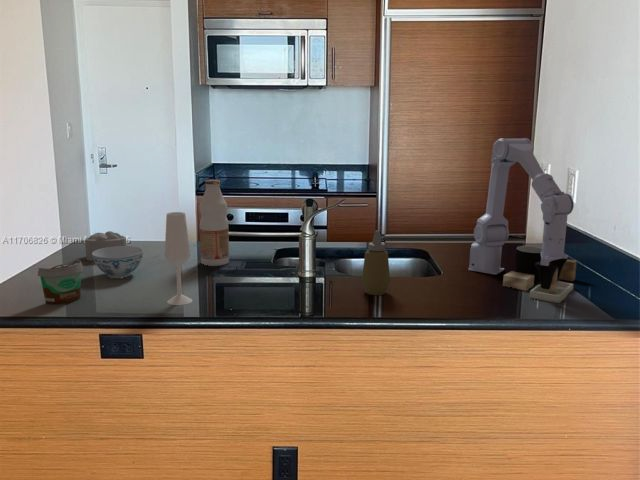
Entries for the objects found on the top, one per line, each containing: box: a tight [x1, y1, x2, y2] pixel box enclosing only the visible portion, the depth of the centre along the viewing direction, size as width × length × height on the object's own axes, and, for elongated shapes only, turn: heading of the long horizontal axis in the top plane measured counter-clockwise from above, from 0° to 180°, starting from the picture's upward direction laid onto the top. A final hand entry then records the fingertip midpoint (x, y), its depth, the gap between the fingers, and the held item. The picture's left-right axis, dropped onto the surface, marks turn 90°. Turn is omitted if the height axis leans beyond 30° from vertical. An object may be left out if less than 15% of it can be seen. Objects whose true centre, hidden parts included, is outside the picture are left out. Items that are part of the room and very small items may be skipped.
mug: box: [515, 245, 542, 285], centre depth 180 cm, size 12×9×10 cm
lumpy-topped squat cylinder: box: [84, 230, 127, 261], centre depth 203 cm, size 10×13×9 cm
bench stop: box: [558, 258, 578, 282], centre depth 185 cm, size 17×3×6 cm, turn 54°
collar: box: [556, 280, 574, 295], centre depth 171 cm, size 6×6×2 cm
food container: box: [37, 258, 84, 305], centre depth 157 cm, size 12×6×10 cm, turn 148°
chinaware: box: [92, 245, 144, 279], centre depth 181 cm, size 15×15×8 cm
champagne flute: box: [164, 211, 193, 306], centre depth 155 cm, size 7×7×24 cm
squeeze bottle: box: [361, 230, 391, 296], centre depth 165 cm, size 8×8×18 cm
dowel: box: [542, 268, 558, 295], centre depth 163 cm, size 4×4×8 cm
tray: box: [528, 283, 568, 304], centre depth 164 cm, size 8×8×2 cm
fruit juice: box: [198, 179, 230, 267], centre depth 194 cm, size 9×9×28 cm
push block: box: [502, 270, 535, 292], centre depth 174 cm, size 7×6×4 cm
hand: (549, 285), depth 163 cm, fingers open, 7 cm apart
